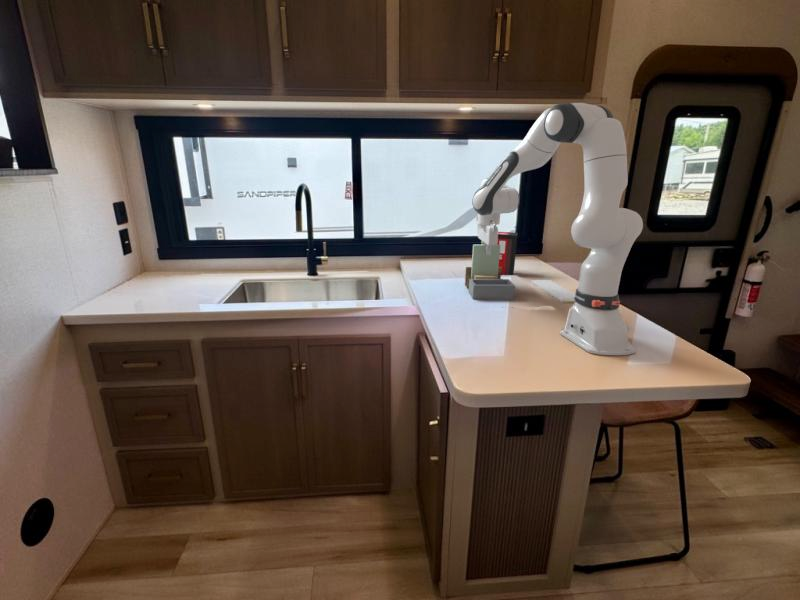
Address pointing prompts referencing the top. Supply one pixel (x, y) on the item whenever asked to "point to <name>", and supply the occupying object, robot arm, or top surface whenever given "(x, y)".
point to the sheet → (485, 261)
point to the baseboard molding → (555, 291)
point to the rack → (468, 275)
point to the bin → (491, 289)
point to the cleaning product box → (507, 252)
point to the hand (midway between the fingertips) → (486, 253)
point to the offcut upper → (484, 277)
